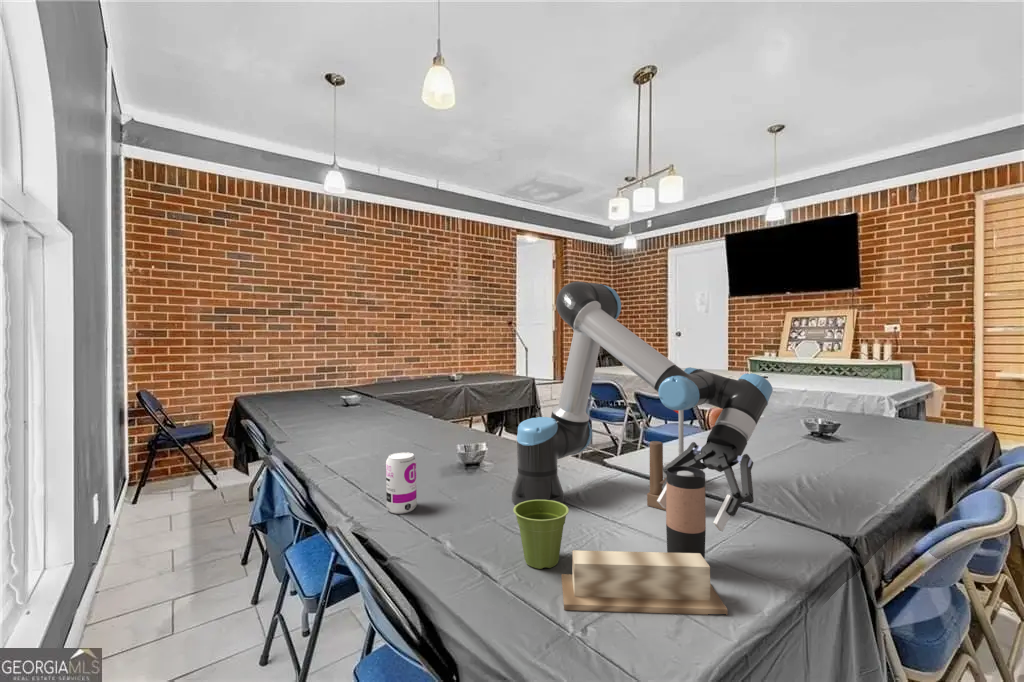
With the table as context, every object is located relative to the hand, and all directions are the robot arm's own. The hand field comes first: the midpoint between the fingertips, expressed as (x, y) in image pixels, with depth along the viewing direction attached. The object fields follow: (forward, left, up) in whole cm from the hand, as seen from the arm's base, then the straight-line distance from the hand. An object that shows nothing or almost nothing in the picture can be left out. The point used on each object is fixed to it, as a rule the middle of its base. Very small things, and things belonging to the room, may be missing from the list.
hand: (687, 515), depth 93 cm
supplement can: (-69, +29, -11) cm, 76 cm away
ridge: (-12, -10, -11) cm, 19 cm away
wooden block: (+5, +32, -11) cm, 34 cm away
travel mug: (0, +1, -11) cm, 11 cm away
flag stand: (+15, +53, -11) cm, 56 cm away
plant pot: (-30, +2, -11) cm, 32 cm away
